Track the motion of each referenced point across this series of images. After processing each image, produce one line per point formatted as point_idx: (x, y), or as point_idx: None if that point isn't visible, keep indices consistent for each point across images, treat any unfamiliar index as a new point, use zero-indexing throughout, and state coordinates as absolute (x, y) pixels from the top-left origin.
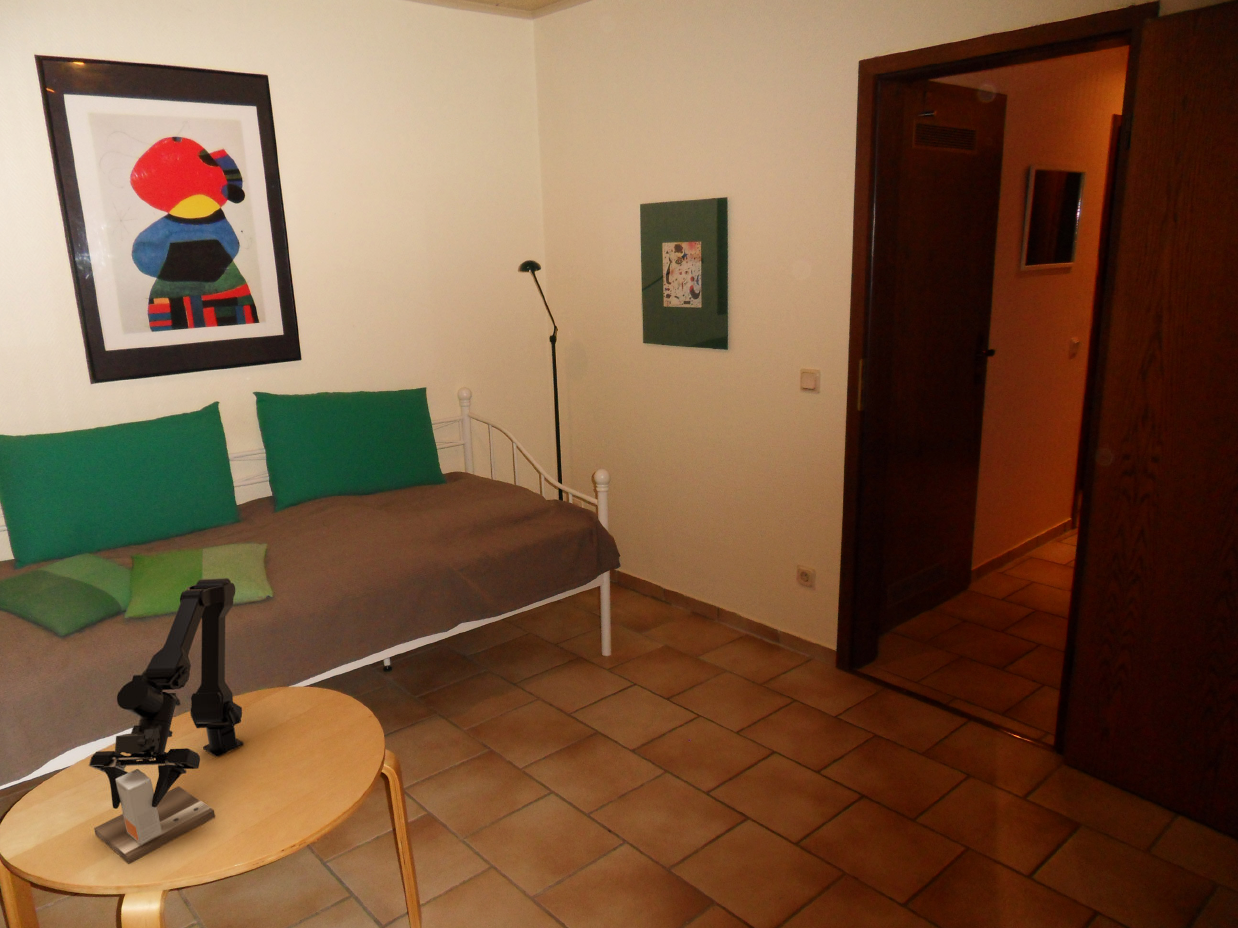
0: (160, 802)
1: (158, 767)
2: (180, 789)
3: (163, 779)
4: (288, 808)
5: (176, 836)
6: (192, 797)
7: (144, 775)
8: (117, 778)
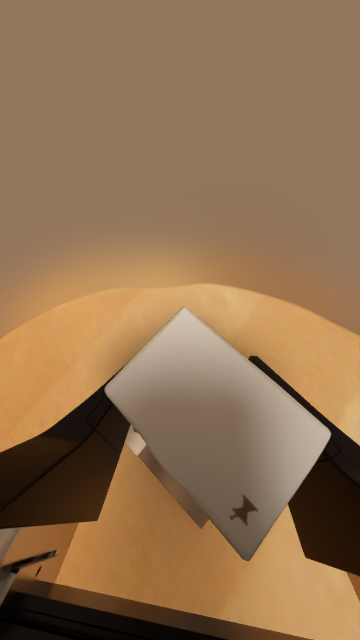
0: None
1: (12, 492)
2: (191, 511)
3: (76, 412)
4: (13, 417)
5: None
6: (157, 472)
7: (153, 440)
8: (320, 434)
